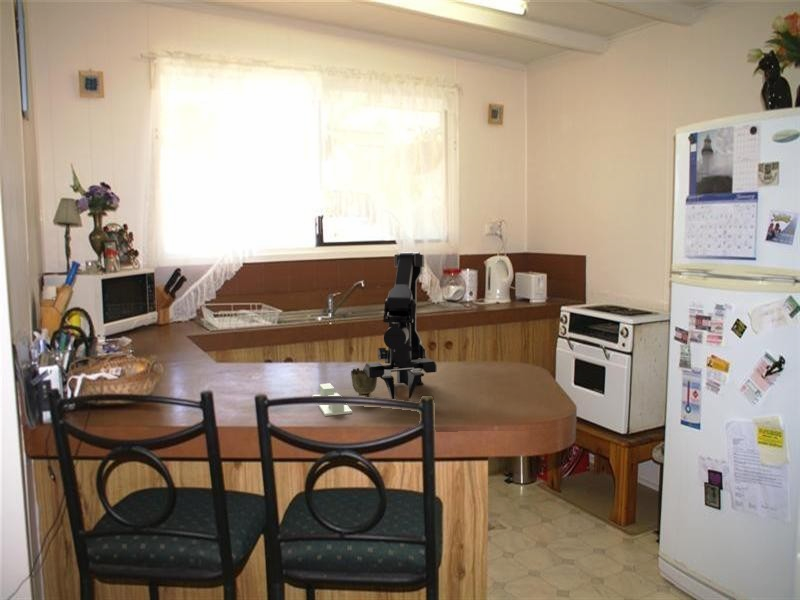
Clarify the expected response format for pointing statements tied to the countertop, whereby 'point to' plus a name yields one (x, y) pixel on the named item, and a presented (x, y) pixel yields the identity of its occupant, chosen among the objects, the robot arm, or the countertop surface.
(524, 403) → the countertop surface
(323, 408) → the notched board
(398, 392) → the brown rectangular block
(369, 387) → the cup
